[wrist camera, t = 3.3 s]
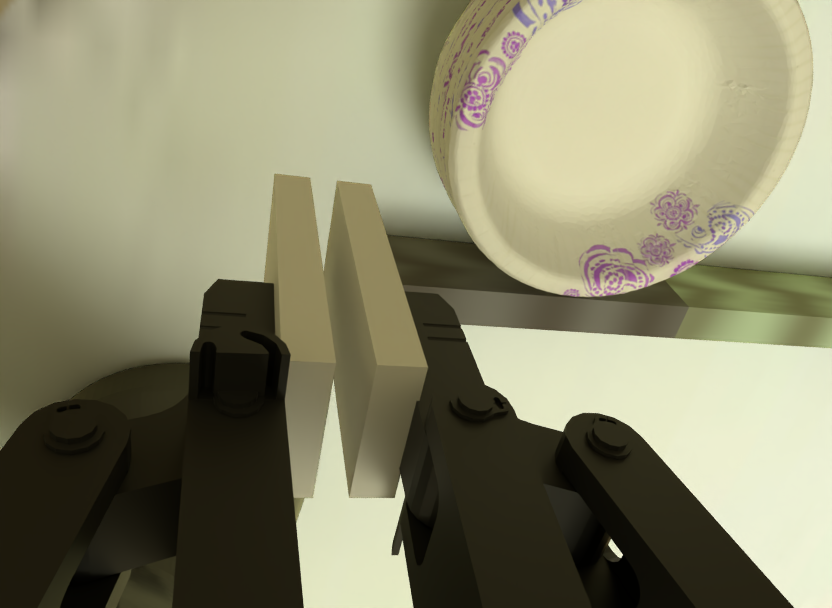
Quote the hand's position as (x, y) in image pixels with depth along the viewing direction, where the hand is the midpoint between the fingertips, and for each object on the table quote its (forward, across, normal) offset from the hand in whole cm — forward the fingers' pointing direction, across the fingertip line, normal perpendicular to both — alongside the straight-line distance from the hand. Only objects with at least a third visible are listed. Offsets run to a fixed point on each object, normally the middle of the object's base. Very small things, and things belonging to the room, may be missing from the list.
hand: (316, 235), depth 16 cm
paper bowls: (+19, -14, 0) cm, 23 cm away
